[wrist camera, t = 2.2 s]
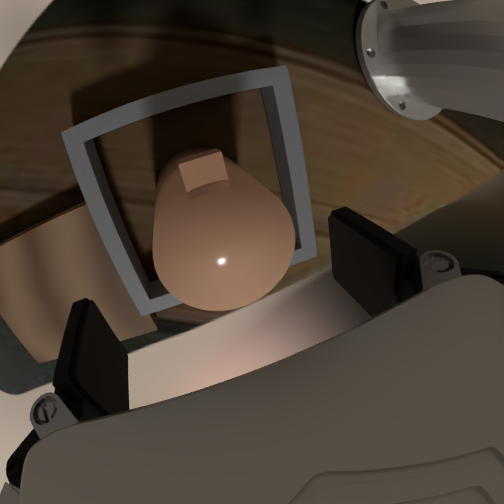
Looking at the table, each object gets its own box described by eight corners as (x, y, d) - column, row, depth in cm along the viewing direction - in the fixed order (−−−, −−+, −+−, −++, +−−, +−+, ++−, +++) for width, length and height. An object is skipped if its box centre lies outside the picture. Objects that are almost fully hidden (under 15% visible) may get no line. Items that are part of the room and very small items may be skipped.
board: (98, 195, 18) (95, 200, 17) (157, 320, 25) (157, 329, 24) (-25, 257, 16) (-31, 264, 15) (41, 354, 23) (38, 363, 22)
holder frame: (272, 69, 18) (286, 65, 16) (303, 242, 25) (317, 256, 23) (72, 129, 16) (61, 132, 14) (142, 297, 23) (141, 316, 21)
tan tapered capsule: (225, 123, 19) (278, 136, 10) (252, 235, 23) (306, 313, 15) (141, 149, 18) (120, 185, 10) (180, 259, 23) (196, 353, 14)
